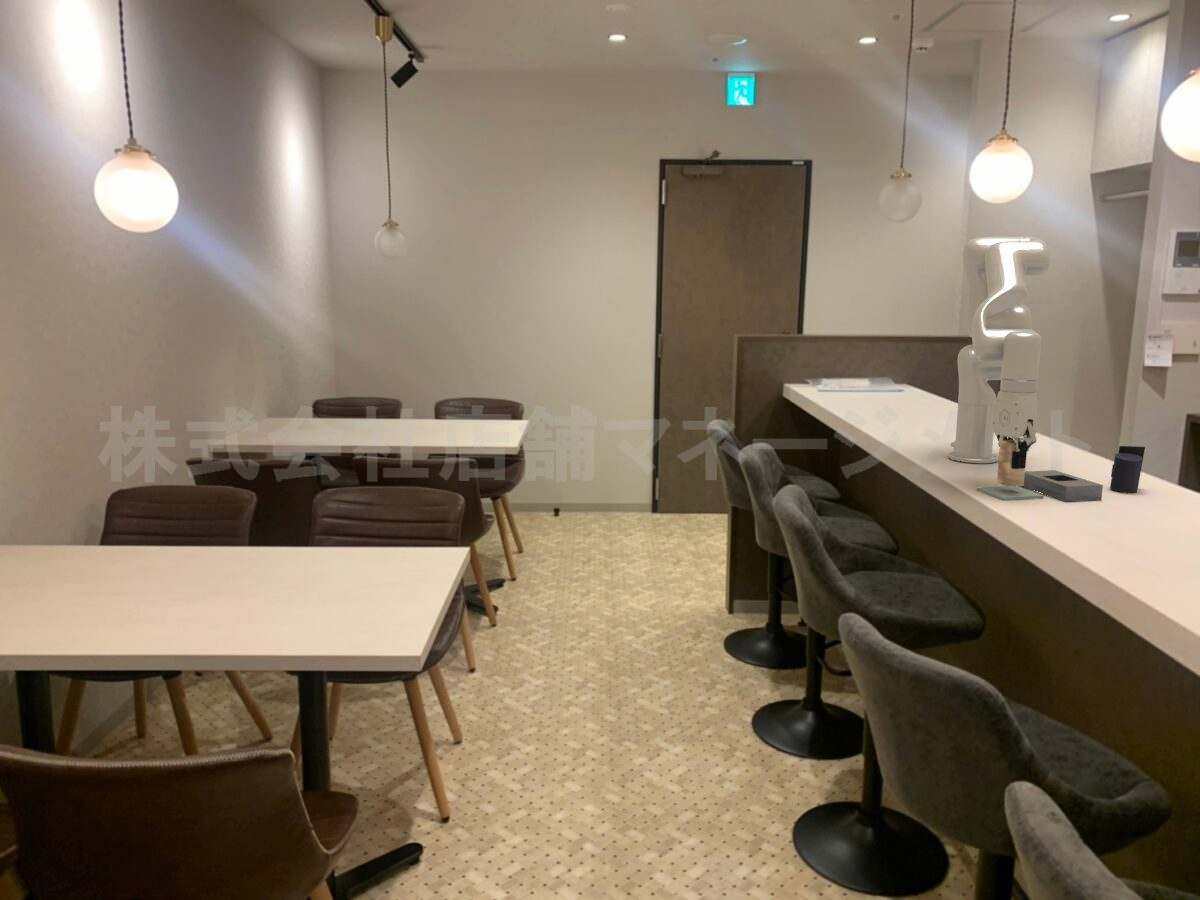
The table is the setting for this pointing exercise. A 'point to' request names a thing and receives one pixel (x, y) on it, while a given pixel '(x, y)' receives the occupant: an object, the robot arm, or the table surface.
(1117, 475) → the speaker
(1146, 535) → the table surface
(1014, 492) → the pad
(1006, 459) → the peg
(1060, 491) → the plate with square hole
